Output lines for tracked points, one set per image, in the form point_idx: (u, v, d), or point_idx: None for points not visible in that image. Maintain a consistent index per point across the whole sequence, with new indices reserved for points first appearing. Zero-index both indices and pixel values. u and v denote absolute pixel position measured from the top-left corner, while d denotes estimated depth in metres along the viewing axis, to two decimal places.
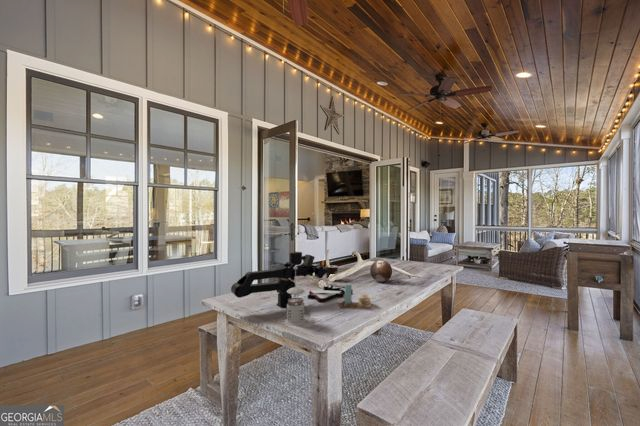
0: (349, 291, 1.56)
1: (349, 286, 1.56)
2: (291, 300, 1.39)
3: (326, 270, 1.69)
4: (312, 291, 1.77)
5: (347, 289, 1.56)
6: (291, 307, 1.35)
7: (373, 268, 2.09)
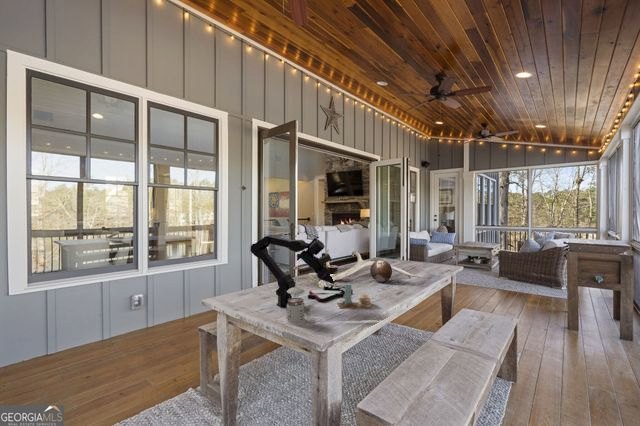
0: (349, 291, 1.56)
1: (349, 286, 1.56)
2: (291, 300, 1.39)
3: (330, 279, 1.51)
4: (312, 291, 1.77)
5: (347, 289, 1.56)
6: (291, 307, 1.35)
7: (373, 268, 2.09)
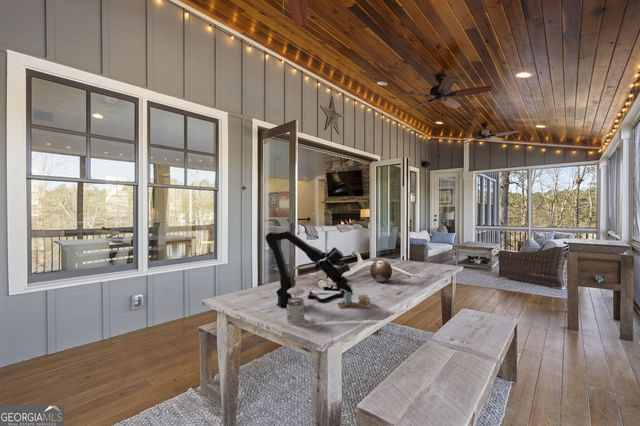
0: None
1: (349, 286, 1.56)
2: (291, 300, 1.39)
3: (348, 288, 1.55)
4: (312, 291, 1.76)
5: None
6: (291, 307, 1.35)
7: (373, 268, 2.09)
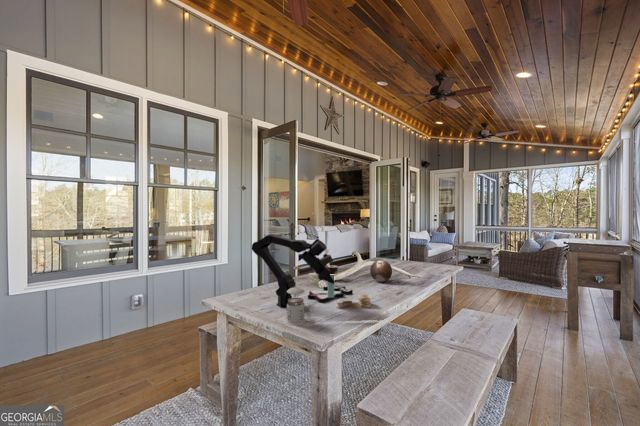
0: None
1: (332, 277, 1.55)
2: (291, 300, 1.39)
3: (330, 279, 1.54)
4: (312, 291, 1.76)
5: None
6: (291, 307, 1.35)
7: (373, 268, 2.09)
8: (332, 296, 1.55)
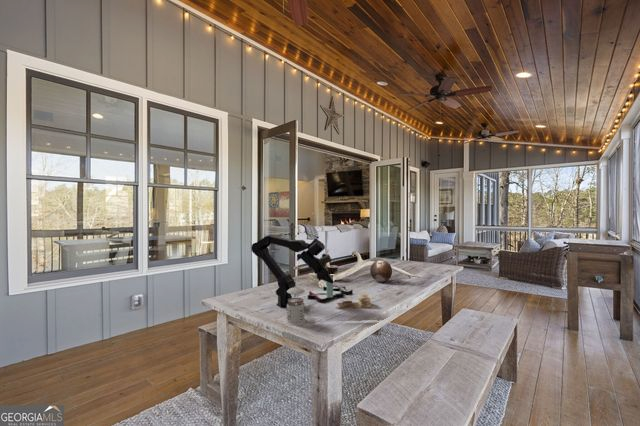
0: None
1: (331, 277, 1.55)
2: (291, 300, 1.39)
3: (329, 279, 1.54)
4: (312, 291, 1.76)
5: None
6: (291, 307, 1.35)
7: (373, 268, 2.09)
8: (331, 296, 1.55)
